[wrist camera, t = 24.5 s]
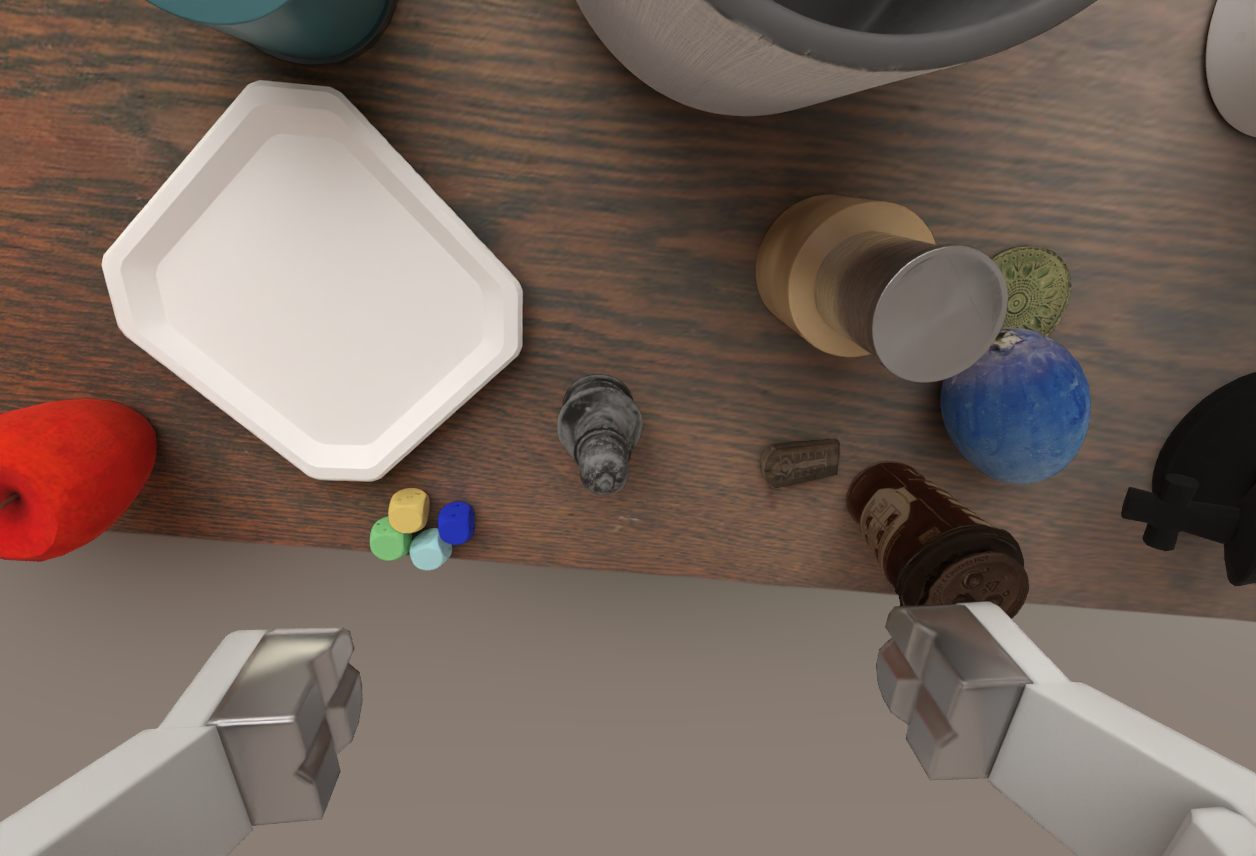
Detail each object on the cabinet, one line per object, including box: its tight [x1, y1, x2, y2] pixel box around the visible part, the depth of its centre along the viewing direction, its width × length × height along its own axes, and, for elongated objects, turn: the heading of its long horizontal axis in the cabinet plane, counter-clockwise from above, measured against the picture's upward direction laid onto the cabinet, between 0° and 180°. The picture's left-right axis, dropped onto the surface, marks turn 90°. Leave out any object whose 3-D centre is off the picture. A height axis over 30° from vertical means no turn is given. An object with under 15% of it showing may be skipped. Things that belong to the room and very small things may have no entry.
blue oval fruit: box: [940, 328, 1091, 484], centre depth 41 cm, size 9×9×15 cm
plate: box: [102, 80, 523, 481], centre depth 38 cm, size 21×21×2 cm
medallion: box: [991, 245, 1071, 336], centre depth 43 cm, size 8×8×1 cm
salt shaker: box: [557, 374, 643, 495], centre depth 39 cm, size 6×6×12 cm
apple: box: [0, 399, 157, 562], centre depth 37 cm, size 9×9×11 cm
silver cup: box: [814, 231, 1008, 382], centre depth 31 cm, size 6×6×8 cm
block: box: [760, 439, 840, 488], centre depth 47 cm, size 4×6×2 cm, turn 94°
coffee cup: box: [847, 461, 1029, 619], centre depth 44 cm, size 9×8×13 cm
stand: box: [755, 195, 935, 357], centre depth 38 cm, size 9×9×7 cm
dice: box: [370, 488, 475, 570], centre depth 46 cm, size 8×3×6 cm
